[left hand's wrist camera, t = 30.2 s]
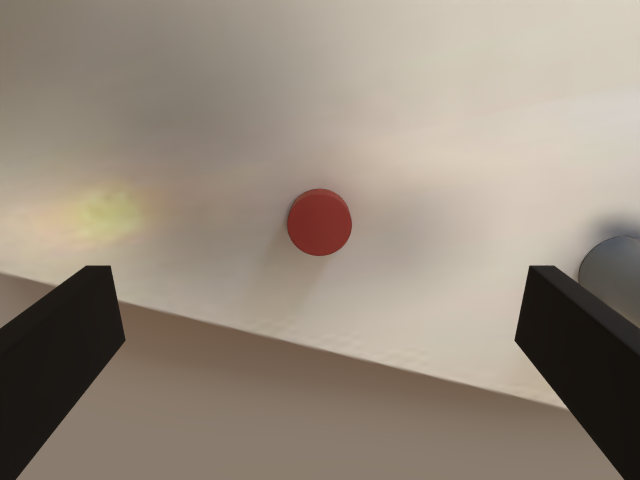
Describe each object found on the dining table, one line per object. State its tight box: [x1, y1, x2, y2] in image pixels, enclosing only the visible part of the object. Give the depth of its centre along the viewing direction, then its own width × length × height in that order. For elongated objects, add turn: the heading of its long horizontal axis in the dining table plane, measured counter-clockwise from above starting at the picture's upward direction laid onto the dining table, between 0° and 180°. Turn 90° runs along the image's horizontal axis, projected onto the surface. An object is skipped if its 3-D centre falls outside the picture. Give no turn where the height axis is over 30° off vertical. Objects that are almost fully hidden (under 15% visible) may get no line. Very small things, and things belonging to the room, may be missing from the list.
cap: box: [287, 189, 352, 256], centre depth 24 cm, size 4×4×2 cm
